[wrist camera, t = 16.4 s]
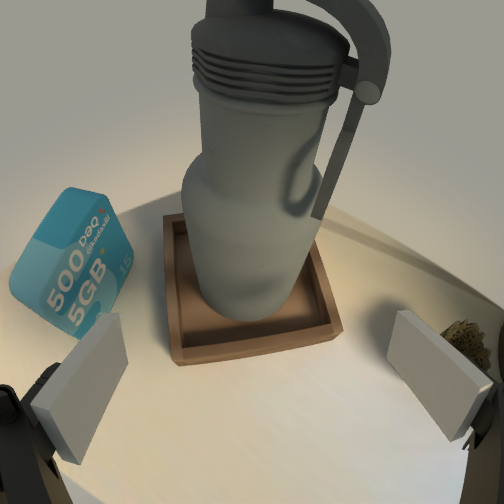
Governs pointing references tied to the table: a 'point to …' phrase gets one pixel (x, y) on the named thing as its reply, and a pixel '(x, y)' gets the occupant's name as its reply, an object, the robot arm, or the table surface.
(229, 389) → the table surface
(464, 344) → the cup
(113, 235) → the data package
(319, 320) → the walnut tray
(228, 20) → the water bottle
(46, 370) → the robot arm
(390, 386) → the table surface
